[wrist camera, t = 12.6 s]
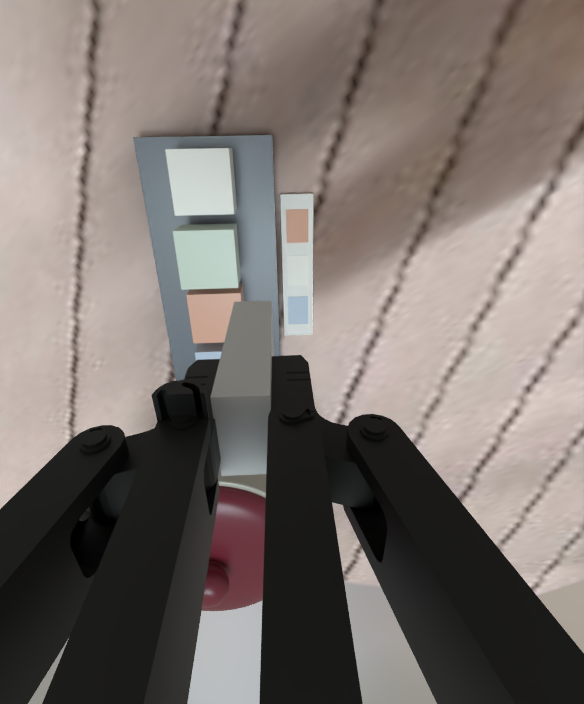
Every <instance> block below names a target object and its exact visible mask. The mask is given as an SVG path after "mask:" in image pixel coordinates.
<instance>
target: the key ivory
mask: <svg viewBox="0 0 584 704" xmlns="http://www.w3.org/2000/svg"><path fill="white" fill-rule="evenodd" d="M165 152H166V159H167V165H168V172H169V179H170V186H171V193H172V200H173V207H174V213H175V216H185V215H225V214H235V212H236V210H237V203H236V190H235V177H234V164H233V151H232V148H206V149H165Z"/></svg>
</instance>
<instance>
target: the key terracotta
mask: <svg viewBox="0 0 584 704" xmlns="http://www.w3.org/2000/svg"><path fill="white" fill-rule="evenodd" d="M186 296H187V303H188V309H189V316H190V323H191V330H192V337H193V343H220V342H224V341H225V337H226V333H227V329H228V325H229V321H230V317H231V313H232V309H233V304H234V302H238V301H244V294H243V283H239V287H238V288H220V289H190V290H189V291H188V293H187V295H186Z"/></svg>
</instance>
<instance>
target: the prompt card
mask: <svg viewBox="0 0 584 704" xmlns="http://www.w3.org/2000/svg"><path fill="white" fill-rule="evenodd" d="M280 200H281V235H282V270H283V304H284V336H288V335H312V327H313V193H304V194H280Z"/></svg>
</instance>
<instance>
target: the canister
mask: <svg viewBox="0 0 584 704" xmlns="http://www.w3.org/2000/svg"><path fill="white" fill-rule="evenodd" d="M218 481H219V490H220V492H219V498H218V505H217V512H216V518H215V525H214V531H213V538H212V544H211V551H210V557H209V564H208V570H207V577H206V583H205V590H204V597H203V603H202V611H224V610H231V609H237V608H242V607H246V606H249V605H252V604H255V603H257V602H260V601H262V600H263V572H264V538H265V504H266V474H257V475H232V476H222V475H221V468H220V467H219V473H218Z"/></svg>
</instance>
